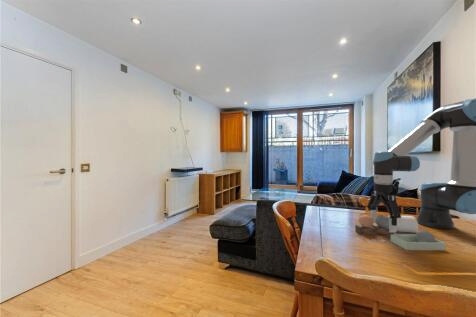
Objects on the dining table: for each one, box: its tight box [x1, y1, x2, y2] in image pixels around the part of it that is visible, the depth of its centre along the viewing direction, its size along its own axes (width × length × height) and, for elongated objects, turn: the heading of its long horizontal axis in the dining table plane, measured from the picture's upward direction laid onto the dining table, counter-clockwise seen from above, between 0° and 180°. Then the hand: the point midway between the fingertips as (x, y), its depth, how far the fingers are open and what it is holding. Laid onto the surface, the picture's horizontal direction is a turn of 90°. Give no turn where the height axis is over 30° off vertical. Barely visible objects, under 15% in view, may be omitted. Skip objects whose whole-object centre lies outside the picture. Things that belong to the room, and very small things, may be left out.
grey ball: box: [415, 230, 436, 242], centre depth 87 cm, size 6×6×6 cm
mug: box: [387, 214, 419, 234], centre depth 107 cm, size 12×10×8 cm
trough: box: [390, 233, 446, 251], centre depth 87 cm, size 15×9×4 cm, turn 90°
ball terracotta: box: [358, 214, 374, 228], centre depth 102 cm, size 6×6×6 cm
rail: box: [354, 224, 395, 235], centre depth 102 cm, size 16×4×4 cm, turn 89°
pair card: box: [366, 238, 388, 245], centre depth 92 cm, size 8×6×1 cm
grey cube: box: [375, 214, 389, 228], centre depth 102 cm, size 6×6×6 cm
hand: (382, 227), depth 102 cm, fingers open, 13 cm apart
